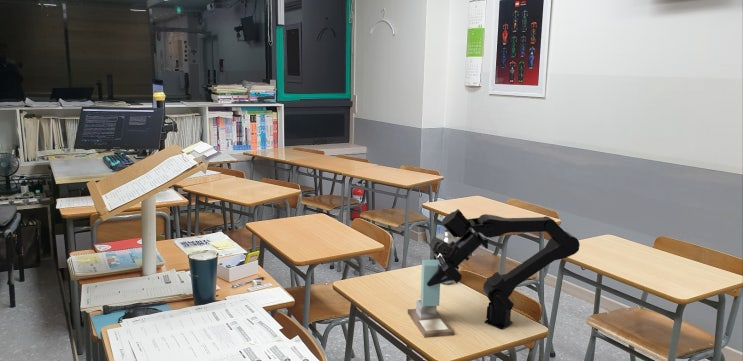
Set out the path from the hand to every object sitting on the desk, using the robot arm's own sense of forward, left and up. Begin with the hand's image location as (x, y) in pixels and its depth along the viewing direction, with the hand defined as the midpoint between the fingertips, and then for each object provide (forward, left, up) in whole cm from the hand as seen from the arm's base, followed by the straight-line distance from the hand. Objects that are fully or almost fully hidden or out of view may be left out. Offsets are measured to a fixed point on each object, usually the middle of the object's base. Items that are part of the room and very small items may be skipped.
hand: (426, 282), depth 162 cm
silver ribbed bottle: (+16, -32, -14) cm, 39 cm away
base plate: (-1, -1, -13) cm, 14 cm away
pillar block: (-1, -1, -7) cm, 7 cm away
